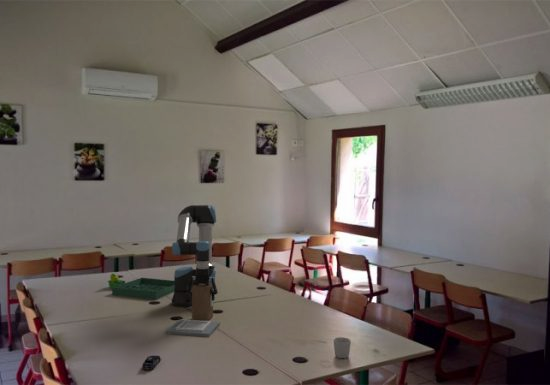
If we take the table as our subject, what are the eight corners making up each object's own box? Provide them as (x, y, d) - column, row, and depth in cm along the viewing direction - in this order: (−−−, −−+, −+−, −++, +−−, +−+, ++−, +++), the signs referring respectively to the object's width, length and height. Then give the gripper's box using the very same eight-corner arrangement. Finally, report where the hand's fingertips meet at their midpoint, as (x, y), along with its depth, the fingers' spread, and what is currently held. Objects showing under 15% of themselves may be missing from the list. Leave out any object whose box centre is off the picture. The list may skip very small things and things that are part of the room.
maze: (182, 289, 362) (182, 281, 362) (156, 300, 329) (156, 291, 328) (141, 285, 373) (141, 277, 373) (112, 295, 340) (112, 287, 340)
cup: (330, 351, 240) (331, 335, 239) (346, 351, 240) (347, 335, 240) (335, 360, 229) (335, 343, 228) (352, 359, 229) (352, 342, 229)
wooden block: (207, 321, 284) (208, 287, 283) (191, 320, 286) (191, 286, 285) (213, 316, 293) (213, 283, 292) (197, 315, 295) (197, 282, 294)
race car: (147, 358, 229) (147, 349, 229) (162, 359, 229) (162, 349, 229) (140, 372, 214) (140, 362, 214) (155, 372, 214) (155, 362, 214)
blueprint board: (165, 333, 263) (165, 329, 263) (179, 322, 282) (179, 317, 282) (209, 336, 259) (209, 331, 259) (219, 324, 278) (219, 320, 278)
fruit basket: (126, 287, 360) (126, 272, 360) (116, 290, 353) (116, 274, 352) (115, 285, 366) (115, 270, 366) (105, 288, 359) (105, 272, 358)
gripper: (181, 268, 286) (181, 306, 287) (219, 269, 282) (219, 308, 283) (186, 265, 293) (186, 302, 295) (223, 267, 290) (223, 304, 291)
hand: (202, 305), depth 289 cm, fingers closed on wooden block, 10 cm apart
